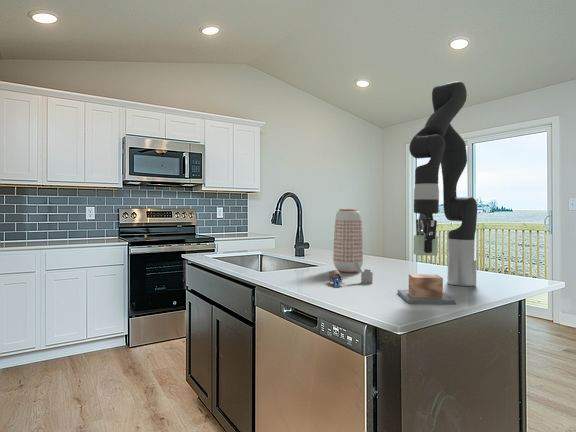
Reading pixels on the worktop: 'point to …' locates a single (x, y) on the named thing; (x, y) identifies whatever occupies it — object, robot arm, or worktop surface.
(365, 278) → the lighter
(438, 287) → the base block
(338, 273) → the figurine
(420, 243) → the top block
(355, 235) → the patterned vase
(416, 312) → the worktop surface
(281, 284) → the worktop surface
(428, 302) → the baseplate
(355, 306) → the worktop surface
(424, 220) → the robot arm
